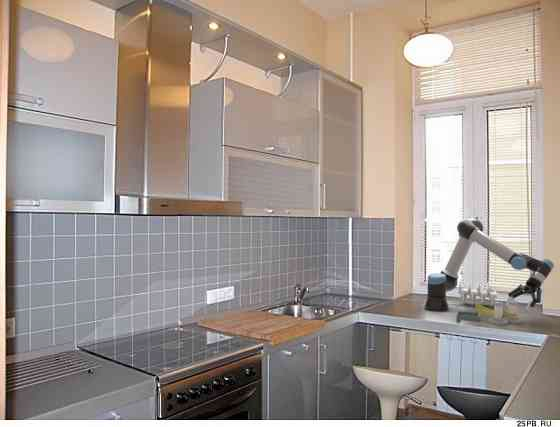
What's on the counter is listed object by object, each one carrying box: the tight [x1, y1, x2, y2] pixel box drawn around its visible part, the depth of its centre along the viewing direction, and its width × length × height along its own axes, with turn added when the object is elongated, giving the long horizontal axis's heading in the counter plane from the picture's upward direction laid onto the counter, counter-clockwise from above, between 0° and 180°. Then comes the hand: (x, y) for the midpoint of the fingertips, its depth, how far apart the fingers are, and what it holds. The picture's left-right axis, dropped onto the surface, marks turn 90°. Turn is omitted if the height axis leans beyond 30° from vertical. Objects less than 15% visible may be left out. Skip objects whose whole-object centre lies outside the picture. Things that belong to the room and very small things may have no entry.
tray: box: [456, 310, 480, 323], centre depth 272 cm, size 12×12×4 cm
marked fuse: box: [507, 300, 519, 320], centre depth 263 cm, size 5×5×12 cm
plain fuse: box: [493, 300, 504, 321], centre depth 259 cm, size 5×5×12 cm
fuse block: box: [486, 317, 524, 327], centre depth 261 cm, size 20×9×4 cm, turn 111°
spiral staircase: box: [457, 278, 498, 308], centre depth 319 cm, size 18×18×25 cm
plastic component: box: [474, 302, 508, 318], centre depth 284 cm, size 20×7×10 cm
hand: (516, 308), depth 263 cm, fingers open, 13 cm apart
